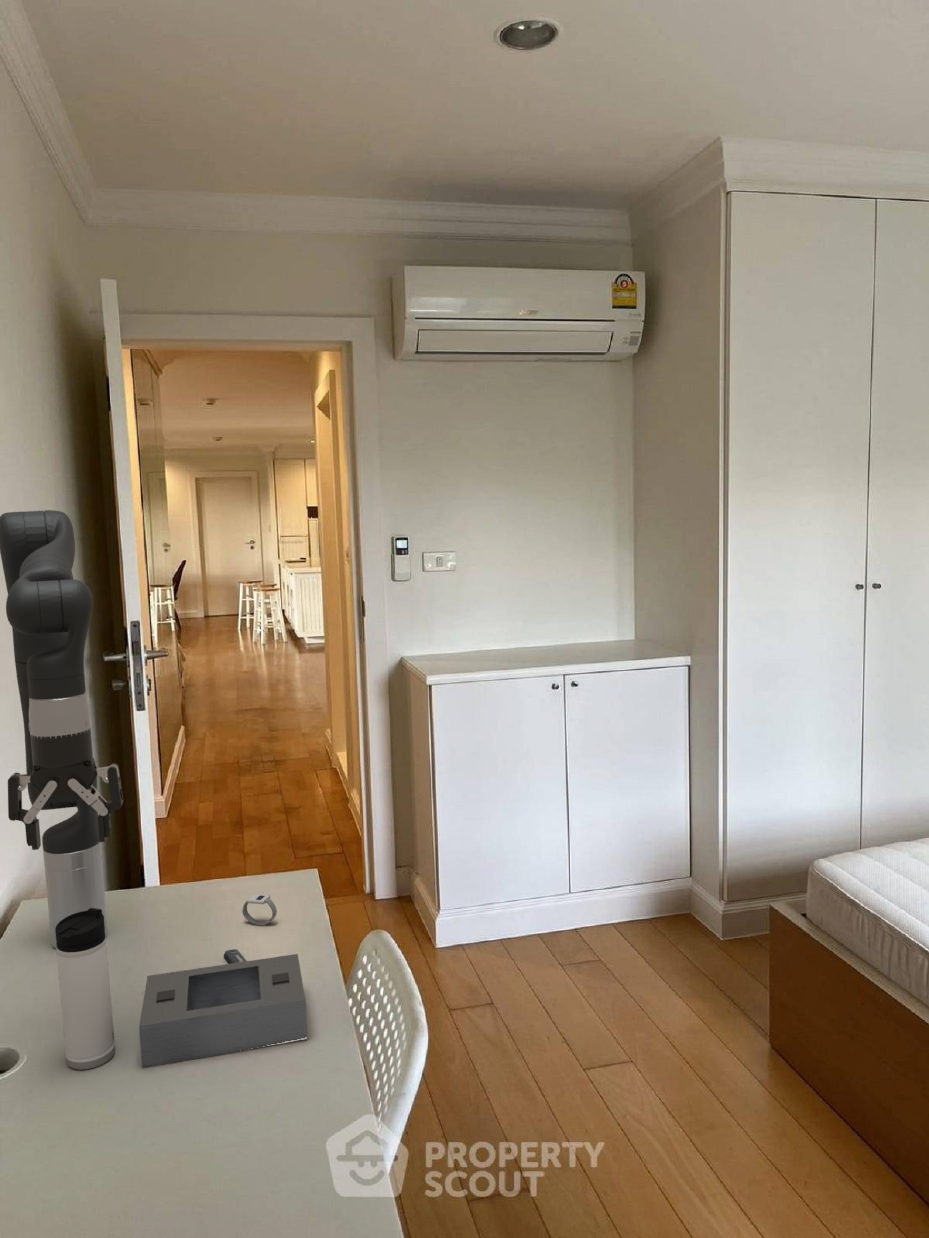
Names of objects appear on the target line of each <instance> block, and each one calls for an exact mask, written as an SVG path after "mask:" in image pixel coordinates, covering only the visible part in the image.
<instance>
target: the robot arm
mask: <svg viewBox="0 0 929 1238" xmlns="http://www.w3.org/2000/svg"><path fill="white" fill-rule="evenodd" d="M73 527H74V526H73V523H72V521H71V519H70V517H69V515H67V514H66V513H65V512H63V511H60V510H55V509H54V510H52V509H50V510H49V509H47V510H32V511H31V510H29V511H27V510H26V511H10V512H4V513H2V514H1V515H0V559H1V564H2V571H3V574H4V580H5V586H6V591H7V597H6V604H5V612H6V614H5V615H6V619H7V621H8V623H9V624H10V626H11V629H12V642H13V653H14V654H13V655H14V665H15V673H16V680H17V686H18V693H19V698H20V700H19V701H20V707H21V713H22V721H23V729H24V746H25V747H24V748H25V749H24V751H25V765H26V766H25V767H26V768H25V769H26V770H25V771H26V773H24V774H23V773H22V774H21V773H20V772H14V773H13V774H11V775H10V777H9V778H8V779H7V808H8V809H7V811H8V812H7V814H8V816H7V817H8V819H9V821H11V822H13V821H14V822H15V821H19V822H22V823H23V824H24V826H25V827H24V828H25V838H26V840H25V841H26V844H27V846H28V847H31V849H32V850H33V851H36V850H39V849H40V847H42V852H43V865H44V874H45V875H44V876H45V885H46V886H45V887H46V897H47V908H48V920H49V933H50V942H51V946H52V947H53V948H54V949H56V942H57V941H56V934H55V928H56V926H57V924H58V923H59V922H60V921H61V920H63V919H64V918H66V917H68V916H70V915H72V914H75V913H78V912H82V911H87V910H88V909H90V908H96V909H101V910H102V914H103V915H104V924H105V936H106V937H107V936H108V933H109V932H108V919H107V907H106V906H107V905H106V894H105V882H104V870H103V857H102V848H101V847H102V846H101V843H105V842H106V841H107V838H110V836H111V833H112V822H111V821H112V820H111V813H112V812H114V811H118V810H120V809H121V808H122V806H123V803H124V796H123V789H122V781H121V775H120V768H119V764H118V763H116V762H115V763H114V762H113V763H111V764H110V765H109V766H102V767H101V766H100V767H97V766H96V765H97V764H96V761H95V758H94V753H93V742H92V741H93V740H92V738H93V737H92V730H91V728H92V727H91V717H90V707H89V701H88V698H87V692H86V691H87V689H86V677H85V661H84V660H85V649H86V643H87V636H88V632H89V627H90V624H91V619H92V616H93V611H94V597H93V594H92V591H91V589H90V588H89V586H88V585H87V584H86V583H85V582H83V581H81V580H79V579H74V575H73V572H72V570H73V566H74V562H75V555H76V542H75V541H76V540H75V539H76V538H75V534H74V533H75V531H74V528H73ZM98 777H100V778H102V781H103V782H104V783H106V784H108V786H109V787H108V788H109V794H110V800H108V801H107V800H106V799H105V798H104V797H103V796H102V795H101V793H100V792H99V791H98ZM26 788H27V792H28V798H29V801H30V804H31V807H30V808H29V809H24V808H23V798H22V797H23V795H22V794H23V791H24V790H25V789H26ZM67 808H68V809H70V808H77V811H76V812H75V813H74V814H73V815H71V816H70V817H68V818H67V819H65V820H62V821H60V822H58V823H55V824H54V825H51V826H50V827H48V828H47V829H46V830H45V831H44V832H43V834H42V837H41V830H40V818H38V817H37V816H38V814H39V813H40V811H49V810H59V809H60V810H61V809H67ZM41 842H42V843H41ZM41 845H42V846H41Z"/></svg>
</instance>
